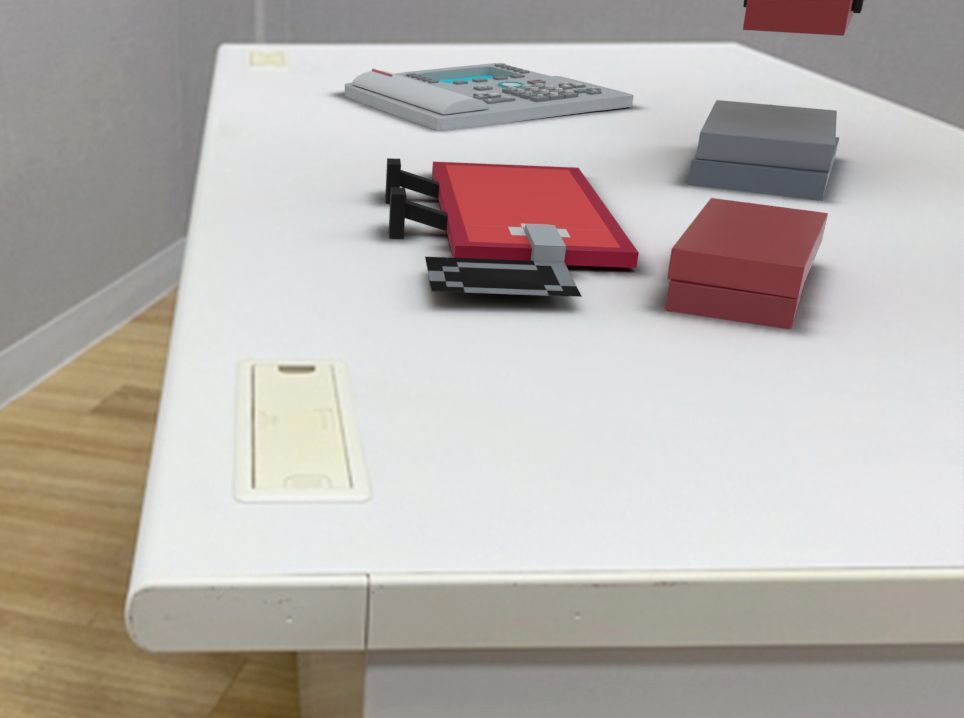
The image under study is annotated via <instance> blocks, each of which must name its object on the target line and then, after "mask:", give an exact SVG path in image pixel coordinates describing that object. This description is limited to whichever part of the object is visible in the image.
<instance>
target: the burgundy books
mask: <svg viewBox="0 0 964 718" xmlns="http://www.w3.org/2000/svg"><path fill="white" fill-rule="evenodd" d="M828 216H829V213H828V212H823V211H817V210H816V211H815V210H814V211H813V210H807V209H800V208H799V209H798V208H794V207H793V208H792V207H784V206H777V205H769V204H761V203H753V202H745V201H739V200H738V201H737V200H731V199H722V198H716V197H710V198H709V200H708V201H706V204H705V205H704V206H703V208H702V209H701V210H700V211H699V213H698V214H697V215H696V217H694V219H693V220H692V221H691V223H690V224H689V225H688V227H687V228H686V230H685V231H684V232H683V233H682V234H681V236H680V237H679V238H678V240H677V241H676V242H675V244H674V245H673V246H672V248H671V251H670V257H669V264H668V269H667V274H666V275H667V276H666V278H667V280H670V281H669V282H668V288H667V294H666V300H665V307H664V311H665V312H671V313H678V314H685V315H691V316H697V317H698V316H699V317H705V318H711V319H712V318H713V319H719V320H724V321H731V322H738V323H745V324H751V325H758V326H764V327H771V328H777V329H783V330H792V328H793V325H794V323H795V322H794V321H795V320H796V319H795V318H796V315H797V311H798V308H799V304H800V301H801V298H802V294H803V290H804V288H805V287H804V286H805V285H806V284H805V283H806V281H807V279H808V275H809V273H810V270H811V268H812V266H813V263H814V261H815V259H816V256H817V255H818V253H819V249H820V247H821V244H822V242H823V238H824V235H825V229H826V225H827V222H828V221H827V220H828Z"/></svg>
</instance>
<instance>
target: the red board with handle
mask: <svg viewBox="0 0 964 718" xmlns="http://www.w3.org/2000/svg"><path fill="white" fill-rule="evenodd" d="M431 170H432V171H431V176H432V179H430V178H427V177H425V176H422V175H419V174H415V173H412V172H409V171H406V170H403V169H402V161H401V158H391V157H387V158H386V170H385V171H386V173H385V195H384V199H385V204H386V205H389V213H388V214H389V215H388V237H389V239H399V240H400V239H401V240H404V238H405V223H406V220H409V221H412V222H415V223H419V224H422V225H425V226H428V227H431V228H434V229H438V230H441V231H444V232H446V234H447V239H448V243H449V245H450V251H451V254H452V257H450V256H449V257H447V256H446V257H445V256H424V259H425V264H426V270H427V275H428V280H429V286H430V291H431V292H439V293H440V292H441V293H444V292H445V293H466V294H467V293H468V294H470V293H471V294H497V295H520V296H521V295H522V296H523V295H524V296H547V297H548V296H551V297H553V296H554V297H572V298H573V297H575V298H576V297H577V298H581V297H583V296H582V294H581V291H580V289H579V288H578V286H577V283H576V282H575V280H574V279H573V277H572V273H570V270H569V269H568V266H578V267H579V266H580V267H582V266H583V267H603V268H607V267H608V268H631V269H637V268H638V267H637V266H638V260H639V255H640V253H639V251H638V249H637V248H636V246H635V245H634V243H633V242H632V241H631V239H630V238H629V237H628V235H627V234H626V232H625V231H624V230H623V228H622V227H621V225H620V224H619V222H618V221H617V219H615V217H614V215H613V214H612V213H611V211H610V210H609V208H608V207H607V205H606V204H605V203H604V201H603V200H602V199H601V197H600V196H599V194H598V193H597V191H596V190H595V189H594V187H593V185H592V184H591V183H590V182H589V180H588V179H587V177H586V176H585V174H584V173H583V172H582V170H581V169H580V168H579V167H577V166H575V167H574V166H549V165H527V164H525V165H524V164H506V163H505V164H502V163H483V162H482V163H478V162H458V161H457V162H453V161H452V162H451V161H435V160H433V161H432V168H431ZM406 189H407V190H409V191H412V192H416V193H419V194H421V195H425V196H428V197H431V198H434V199H437V200H438V203H439V207H440V209H436V208H433V207H430V206H427V205H424V204H421V203H418V202H414V201H411V200H408V199H407V191H406Z"/></svg>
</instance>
